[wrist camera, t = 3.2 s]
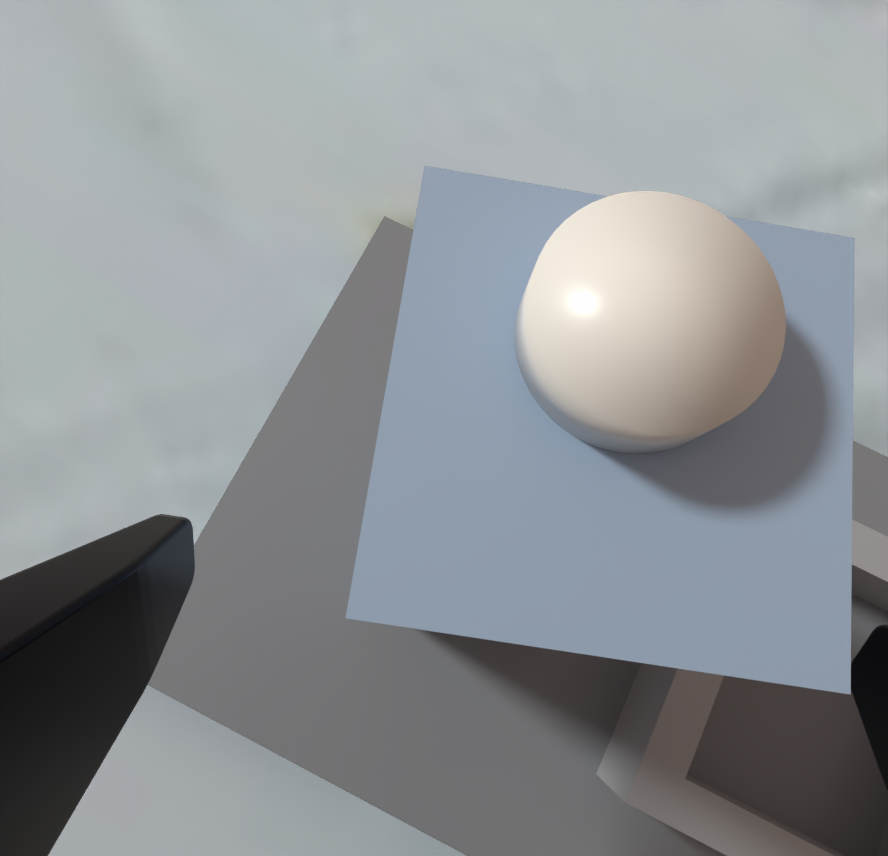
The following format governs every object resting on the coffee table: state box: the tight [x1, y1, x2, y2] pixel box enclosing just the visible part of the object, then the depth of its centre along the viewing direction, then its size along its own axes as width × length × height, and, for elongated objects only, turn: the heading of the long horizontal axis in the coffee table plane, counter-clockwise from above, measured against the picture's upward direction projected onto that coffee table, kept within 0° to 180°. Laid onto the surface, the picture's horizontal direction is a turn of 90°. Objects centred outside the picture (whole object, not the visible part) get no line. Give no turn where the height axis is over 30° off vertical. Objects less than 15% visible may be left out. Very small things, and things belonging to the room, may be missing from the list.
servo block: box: [346, 166, 854, 695], centre depth 12 cm, size 4×4×13 cm
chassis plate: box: [147, 216, 888, 856], centre depth 18 cm, size 22×14×4 cm, turn 64°
